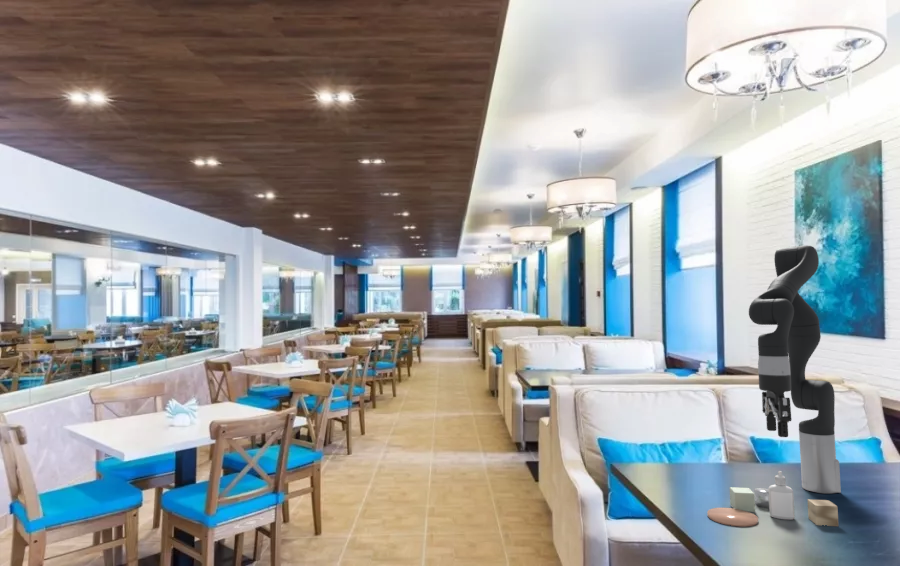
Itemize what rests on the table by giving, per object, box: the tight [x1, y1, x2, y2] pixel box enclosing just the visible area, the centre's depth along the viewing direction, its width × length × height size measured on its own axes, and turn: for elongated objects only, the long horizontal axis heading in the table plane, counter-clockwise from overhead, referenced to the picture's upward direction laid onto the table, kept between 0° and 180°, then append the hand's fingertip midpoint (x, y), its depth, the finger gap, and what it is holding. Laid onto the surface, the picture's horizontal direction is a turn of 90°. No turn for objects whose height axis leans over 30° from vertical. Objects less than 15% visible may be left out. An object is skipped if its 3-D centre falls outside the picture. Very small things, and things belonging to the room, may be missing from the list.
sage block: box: [729, 486, 756, 513], centre depth 156 cm, size 5×5×5 cm
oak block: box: [807, 498, 839, 527], centre depth 144 cm, size 5×5×5 cm
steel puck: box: [753, 487, 769, 509], centre depth 158 cm, size 5×5×4 cm
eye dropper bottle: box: [768, 470, 796, 521], centre depth 148 cm, size 4×6×12 cm
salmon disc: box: [706, 507, 759, 528], centre depth 148 cm, size 12×12×1 cm
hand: (777, 433), depth 150 cm, fingers open, 8 cm apart
